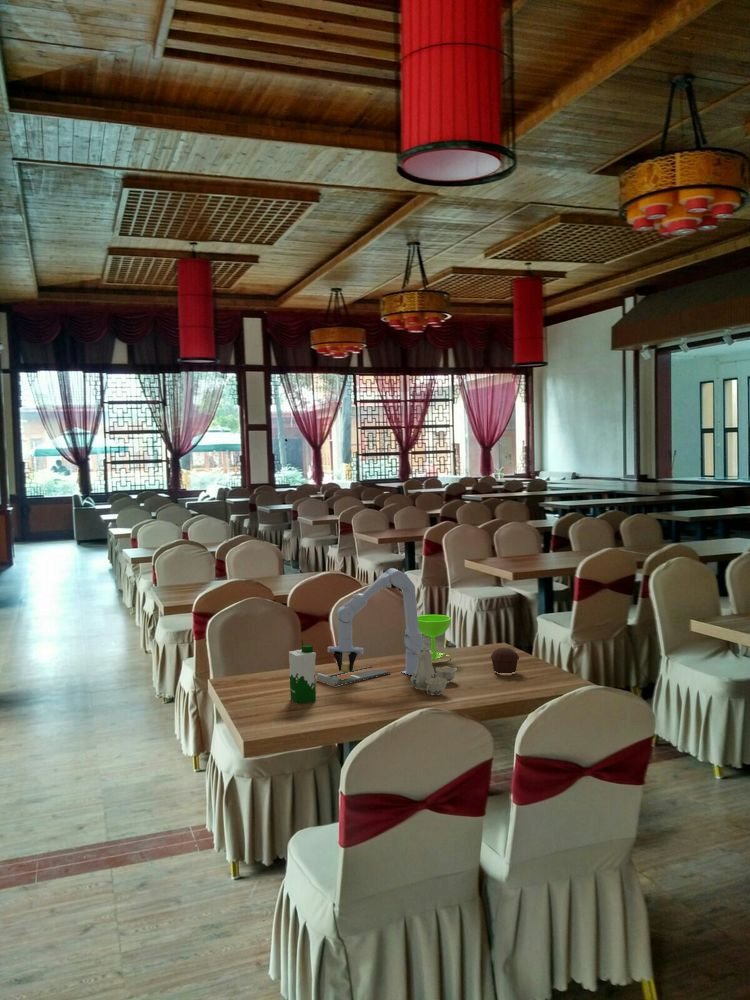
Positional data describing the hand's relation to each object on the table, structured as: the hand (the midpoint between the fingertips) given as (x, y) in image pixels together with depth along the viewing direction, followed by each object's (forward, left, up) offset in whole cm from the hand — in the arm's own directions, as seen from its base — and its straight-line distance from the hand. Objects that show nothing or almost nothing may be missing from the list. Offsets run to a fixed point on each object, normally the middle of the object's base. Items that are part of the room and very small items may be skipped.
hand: (345, 670), depth 325 cm
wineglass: (0, -48, -4) cm, 48 cm away
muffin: (-37, -53, -4) cm, 65 cm away
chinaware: (-32, -17, -4) cm, 37 cm away
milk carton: (-12, +29, -4) cm, 32 cm away
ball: (0, 0, +1) cm, 1 cm away
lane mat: (0, -4, -4) cm, 5 cm away
